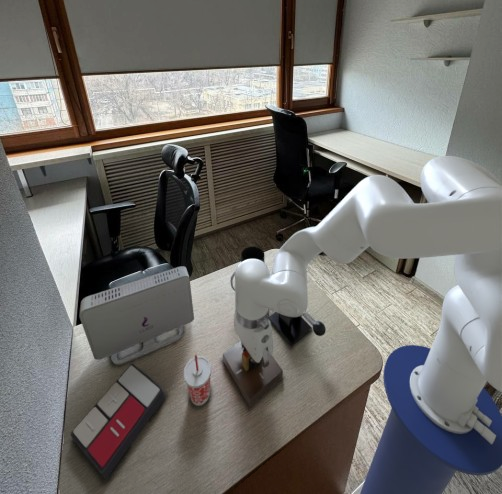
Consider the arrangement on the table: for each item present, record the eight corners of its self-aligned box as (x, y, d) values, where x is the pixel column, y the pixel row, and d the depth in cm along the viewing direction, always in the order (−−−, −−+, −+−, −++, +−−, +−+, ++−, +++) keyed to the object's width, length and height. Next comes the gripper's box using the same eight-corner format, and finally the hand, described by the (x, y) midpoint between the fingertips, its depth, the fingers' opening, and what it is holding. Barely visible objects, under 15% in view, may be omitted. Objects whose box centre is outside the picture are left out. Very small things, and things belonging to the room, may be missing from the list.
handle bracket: (311, 330, 78) (315, 301, 73) (291, 347, 73) (294, 317, 69) (287, 305, 85) (289, 277, 81) (268, 319, 81) (269, 290, 76)
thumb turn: (257, 352, 69) (257, 340, 67) (261, 358, 68) (262, 346, 66) (241, 365, 66) (241, 352, 65) (245, 371, 65) (245, 359, 63)
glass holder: (270, 288, 91) (272, 253, 85) (242, 317, 81) (241, 280, 76) (251, 274, 97) (251, 241, 91) (222, 300, 87) (220, 265, 81)
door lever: (327, 334, 68) (329, 325, 67) (319, 341, 67) (320, 333, 65) (291, 298, 78) (292, 290, 77) (283, 304, 76) (284, 295, 75)
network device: (96, 375, 67) (76, 320, 59) (98, 343, 74) (80, 290, 66) (196, 331, 77) (191, 280, 69) (189, 307, 84) (183, 258, 77)
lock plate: (282, 377, 67) (283, 369, 65) (249, 407, 61) (249, 399, 60) (253, 338, 76) (253, 330, 74) (222, 361, 70) (222, 353, 69)
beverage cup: (182, 406, 61) (176, 368, 56) (192, 376, 67) (187, 339, 61) (208, 412, 60) (204, 374, 55) (216, 381, 66) (213, 344, 60)
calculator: (68, 432, 54) (131, 360, 66) (74, 441, 56) (134, 370, 68) (100, 472, 49) (162, 387, 61) (106, 481, 51) (165, 397, 63)
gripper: (288, 328, 56) (283, 381, 63) (245, 279, 68) (245, 328, 75) (260, 350, 52) (258, 403, 59) (219, 294, 64) (222, 344, 71)
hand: (251, 361), depth 67 cm, fingers closed on thumb turn
